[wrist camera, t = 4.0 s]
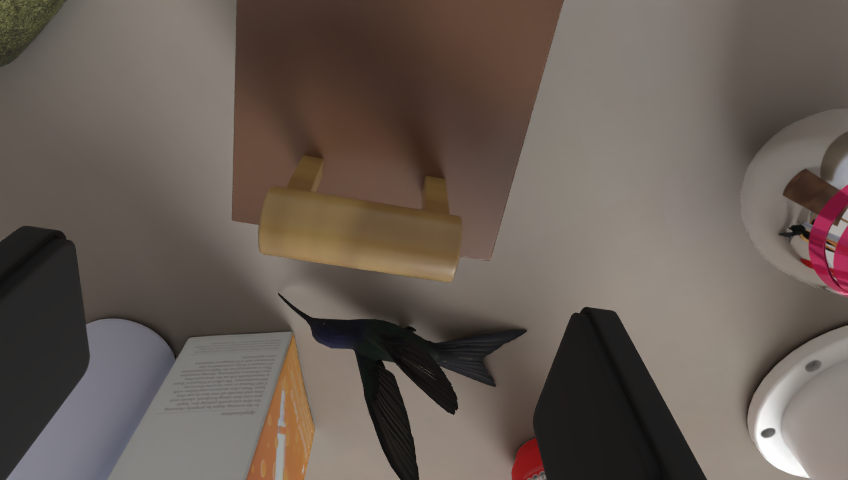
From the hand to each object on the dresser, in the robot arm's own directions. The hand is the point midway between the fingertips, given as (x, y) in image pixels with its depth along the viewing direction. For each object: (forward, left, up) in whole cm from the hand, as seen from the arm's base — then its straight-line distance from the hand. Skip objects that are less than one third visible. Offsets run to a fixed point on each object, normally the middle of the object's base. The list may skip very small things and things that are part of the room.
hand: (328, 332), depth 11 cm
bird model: (-9, +9, -17) cm, 22 cm away
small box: (-5, +18, -17) cm, 26 cm away
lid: (+1, -2, -9) cm, 10 cm away
